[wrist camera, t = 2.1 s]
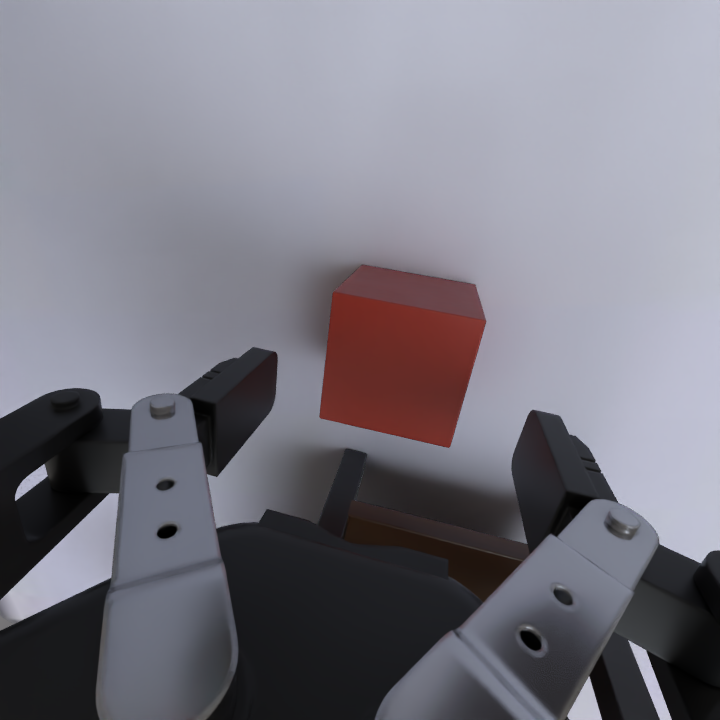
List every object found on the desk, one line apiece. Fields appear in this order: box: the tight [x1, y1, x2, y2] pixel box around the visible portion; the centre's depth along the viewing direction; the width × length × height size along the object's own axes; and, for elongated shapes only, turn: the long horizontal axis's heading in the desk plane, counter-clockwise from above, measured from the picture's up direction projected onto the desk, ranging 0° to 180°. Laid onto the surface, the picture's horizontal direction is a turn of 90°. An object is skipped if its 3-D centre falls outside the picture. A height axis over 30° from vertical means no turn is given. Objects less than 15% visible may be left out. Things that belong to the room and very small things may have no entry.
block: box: [319, 265, 486, 448], centre depth 16 cm, size 5×5×5 cm
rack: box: [317, 449, 660, 720], centre depth 18 cm, size 9×12×11 cm
